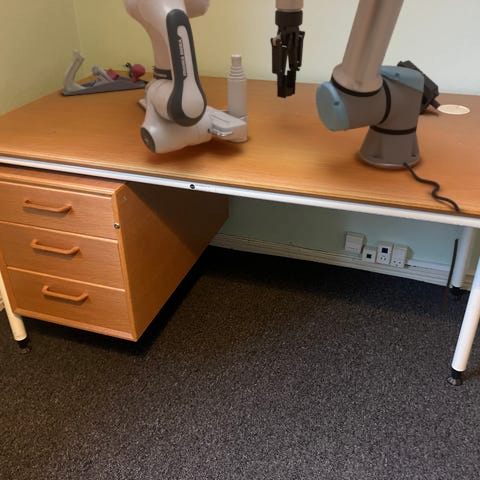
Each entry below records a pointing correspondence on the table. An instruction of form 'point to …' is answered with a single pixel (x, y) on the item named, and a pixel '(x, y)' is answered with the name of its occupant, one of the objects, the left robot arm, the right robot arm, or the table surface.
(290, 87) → the cap
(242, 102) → the bottle
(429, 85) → the tool
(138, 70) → the hand plane
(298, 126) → the table surface
